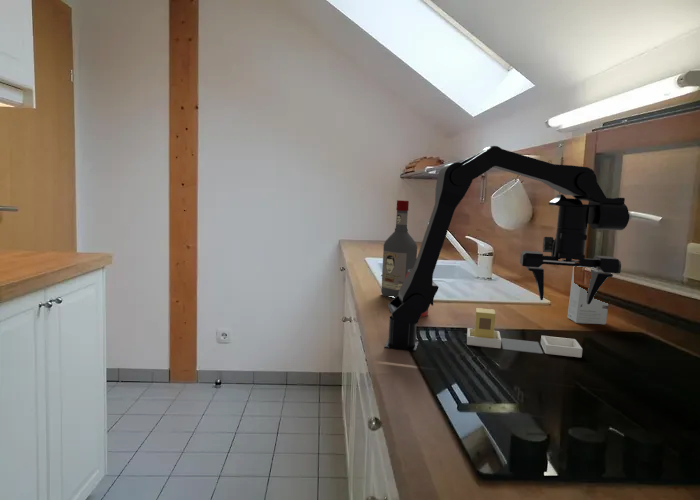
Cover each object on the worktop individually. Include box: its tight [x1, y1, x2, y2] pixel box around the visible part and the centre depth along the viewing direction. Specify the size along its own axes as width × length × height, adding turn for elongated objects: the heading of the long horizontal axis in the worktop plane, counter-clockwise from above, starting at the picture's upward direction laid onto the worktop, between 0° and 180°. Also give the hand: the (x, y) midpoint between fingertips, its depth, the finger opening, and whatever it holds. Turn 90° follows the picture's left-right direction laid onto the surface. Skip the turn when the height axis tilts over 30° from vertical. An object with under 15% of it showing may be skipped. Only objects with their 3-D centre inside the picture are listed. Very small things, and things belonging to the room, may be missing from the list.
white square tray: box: [540, 335, 583, 358], centre depth 103 cm, size 7×7×2 cm
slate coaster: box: [501, 337, 544, 355], centre depth 105 cm, size 8×8×1 cm
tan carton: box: [474, 307, 496, 339], centre depth 107 cm, size 4×4×7 cm
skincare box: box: [567, 266, 609, 325], centre depth 130 cm, size 8×6×15 cm
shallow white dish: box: [466, 327, 502, 349], centre depth 107 cm, size 7×7×2 cm
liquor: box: [380, 199, 418, 298], centre depth 151 cm, size 9×9×30 cm
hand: (564, 301), depth 102 cm, fingers open, 9 cm apart
